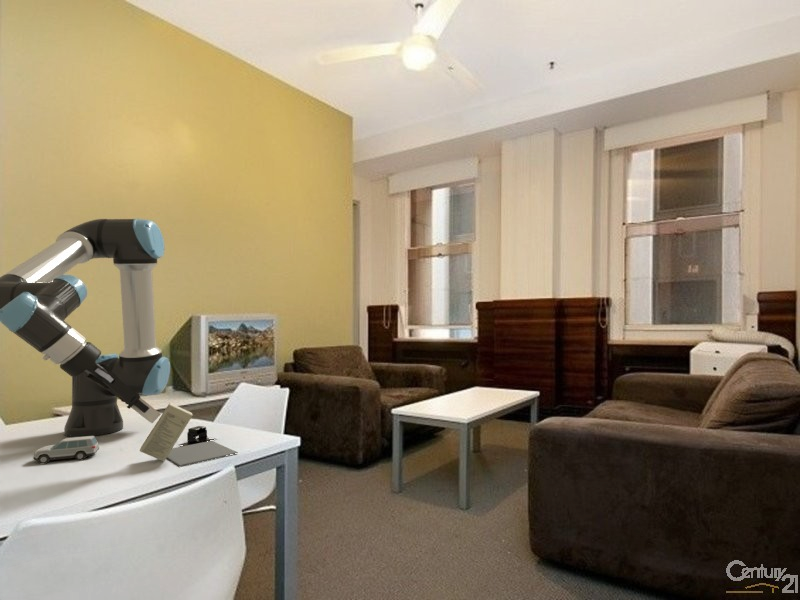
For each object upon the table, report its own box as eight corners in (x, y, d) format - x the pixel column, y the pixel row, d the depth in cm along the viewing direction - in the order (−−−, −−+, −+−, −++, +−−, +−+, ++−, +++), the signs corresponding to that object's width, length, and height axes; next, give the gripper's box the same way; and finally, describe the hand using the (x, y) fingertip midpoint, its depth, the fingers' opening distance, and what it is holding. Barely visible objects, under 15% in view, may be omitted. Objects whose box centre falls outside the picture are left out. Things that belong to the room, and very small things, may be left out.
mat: (157, 452, 119) (157, 451, 119) (211, 442, 129) (211, 440, 129) (180, 466, 108) (180, 465, 108) (237, 453, 118) (237, 452, 118)
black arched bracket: (188, 451, 122) (188, 434, 122) (168, 448, 125) (168, 431, 125) (223, 439, 134) (223, 423, 134) (204, 437, 137) (204, 421, 137)
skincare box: (164, 458, 115) (193, 413, 118) (163, 462, 111) (194, 416, 115) (139, 446, 113) (170, 401, 116) (137, 450, 109) (169, 403, 112)
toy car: (39, 459, 116) (39, 438, 116) (99, 453, 120) (100, 433, 121) (30, 465, 110) (31, 444, 111) (94, 459, 115) (94, 439, 115)
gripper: (53, 364, 104) (135, 427, 115) (63, 368, 95) (152, 436, 106) (81, 339, 108) (158, 402, 119) (94, 340, 99) (176, 409, 110)
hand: (155, 418), depth 112 cm, fingers closed
